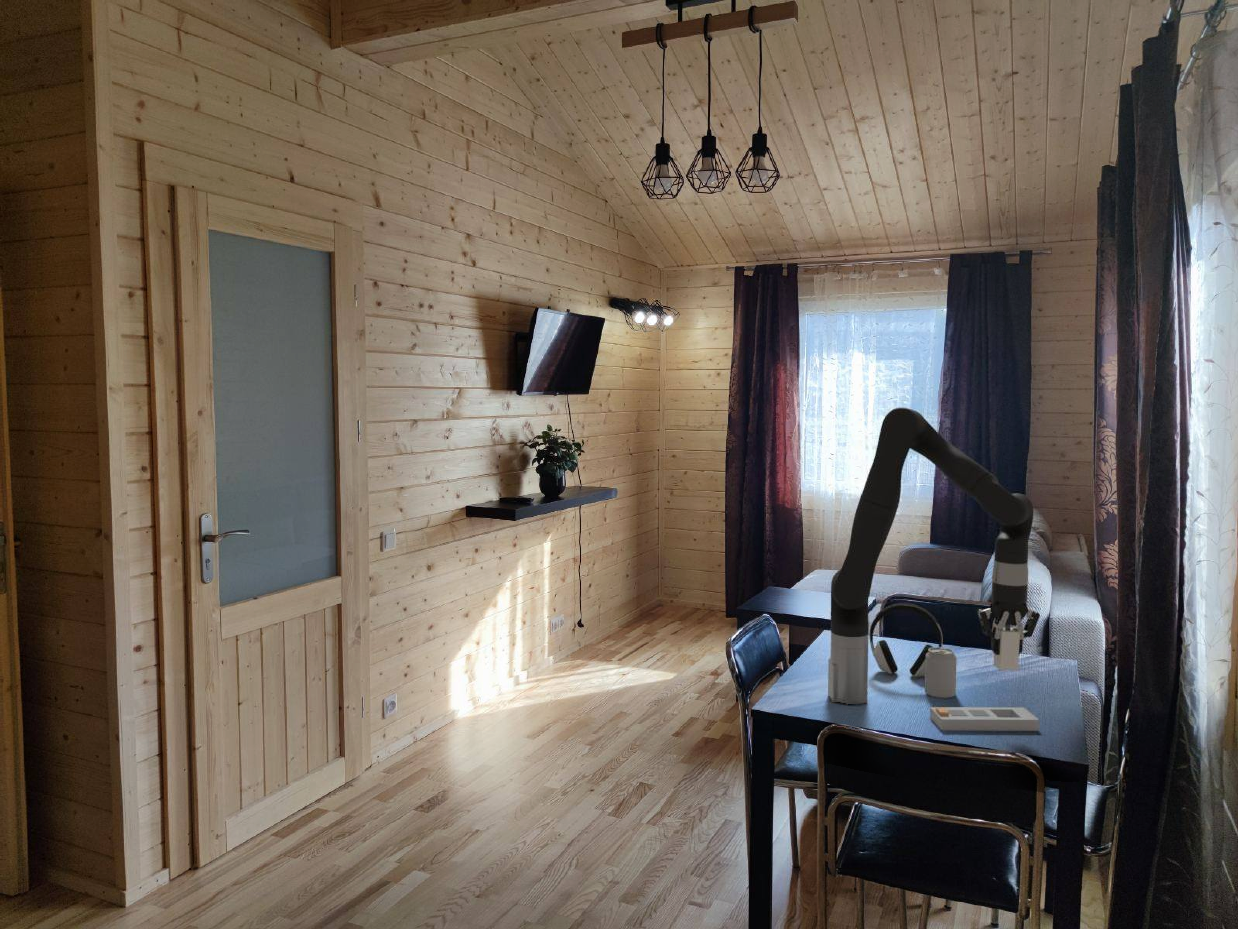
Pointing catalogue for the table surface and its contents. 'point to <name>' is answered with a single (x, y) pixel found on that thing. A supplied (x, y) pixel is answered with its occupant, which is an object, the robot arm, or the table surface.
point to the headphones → (882, 648)
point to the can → (940, 672)
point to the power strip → (984, 718)
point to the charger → (1008, 650)
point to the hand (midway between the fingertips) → (1006, 653)
